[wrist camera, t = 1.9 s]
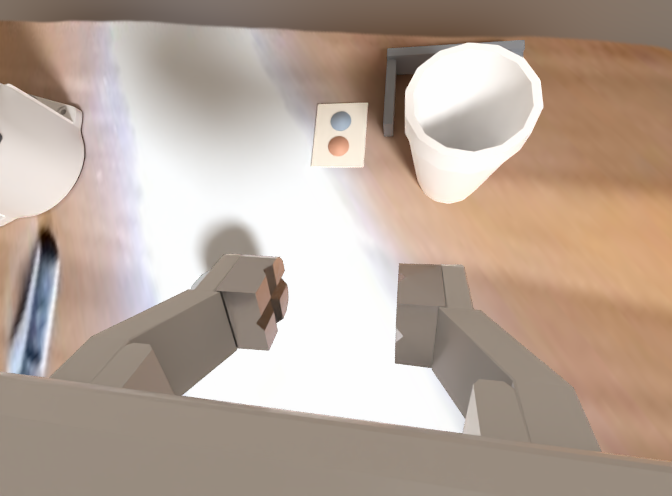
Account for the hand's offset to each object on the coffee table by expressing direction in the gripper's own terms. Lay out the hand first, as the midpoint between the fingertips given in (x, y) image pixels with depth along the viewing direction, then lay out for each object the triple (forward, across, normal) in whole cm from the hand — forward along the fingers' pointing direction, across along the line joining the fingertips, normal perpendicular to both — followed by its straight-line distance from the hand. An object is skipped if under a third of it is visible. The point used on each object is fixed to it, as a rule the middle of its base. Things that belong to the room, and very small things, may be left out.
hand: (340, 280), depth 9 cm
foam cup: (+30, -6, +9) cm, 32 cm away
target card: (+34, +6, +5) cm, 35 cm away
